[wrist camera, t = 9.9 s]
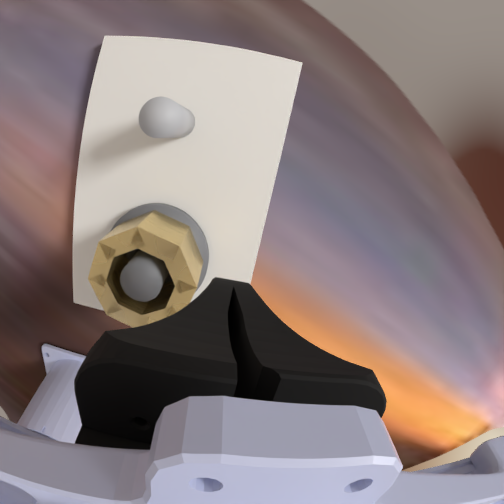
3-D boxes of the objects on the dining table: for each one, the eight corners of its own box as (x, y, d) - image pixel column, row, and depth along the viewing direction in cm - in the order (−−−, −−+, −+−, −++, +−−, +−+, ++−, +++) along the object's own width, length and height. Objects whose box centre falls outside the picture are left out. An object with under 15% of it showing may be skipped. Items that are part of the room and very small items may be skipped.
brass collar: (213, 284, 19) (208, 314, 16) (135, 307, 20) (119, 338, 16) (179, 200, 18) (167, 214, 14) (99, 231, 18) (74, 251, 15)
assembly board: (237, 329, 23) (238, 387, 17) (78, 296, 21) (42, 341, 16) (299, 66, 17) (325, 38, 11) (110, 39, 15) (68, 11, 10)
